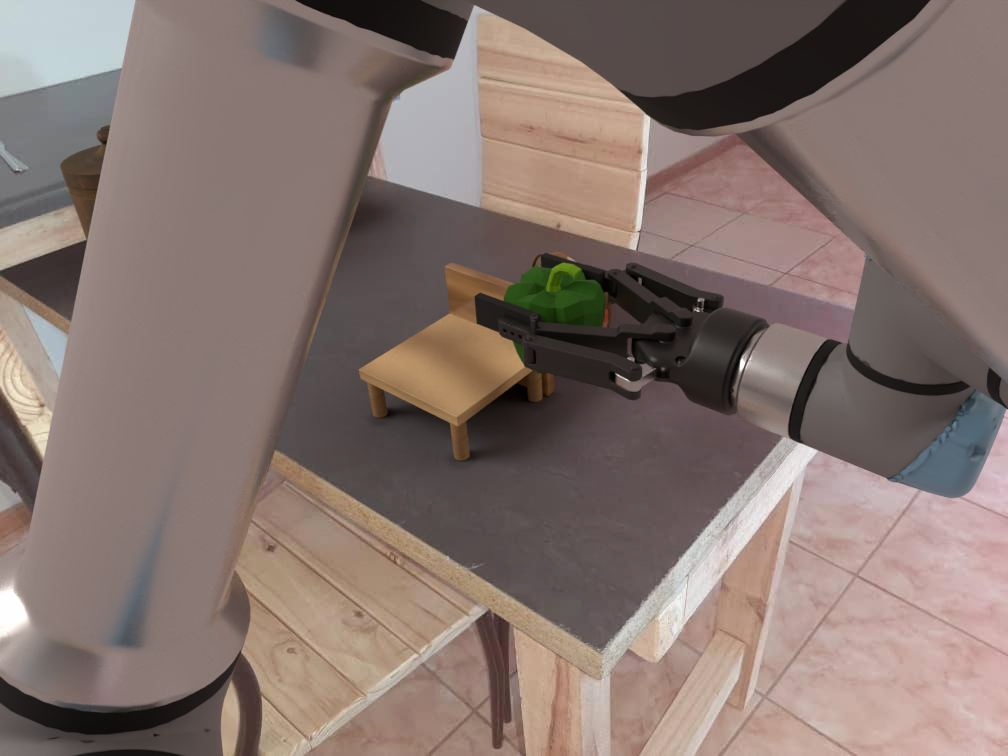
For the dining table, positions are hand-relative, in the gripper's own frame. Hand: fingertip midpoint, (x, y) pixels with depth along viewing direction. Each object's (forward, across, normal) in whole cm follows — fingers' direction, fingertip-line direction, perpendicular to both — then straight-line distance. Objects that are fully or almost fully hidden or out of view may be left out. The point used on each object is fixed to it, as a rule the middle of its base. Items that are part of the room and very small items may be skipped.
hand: (512, 287), depth 69 cm
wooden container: (+69, -1, -18) cm, 71 cm away
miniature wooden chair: (+10, +1, -18) cm, 20 cm away
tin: (+10, +22, -18) cm, 30 cm away
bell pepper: (-5, 0, -6) cm, 8 cm away
